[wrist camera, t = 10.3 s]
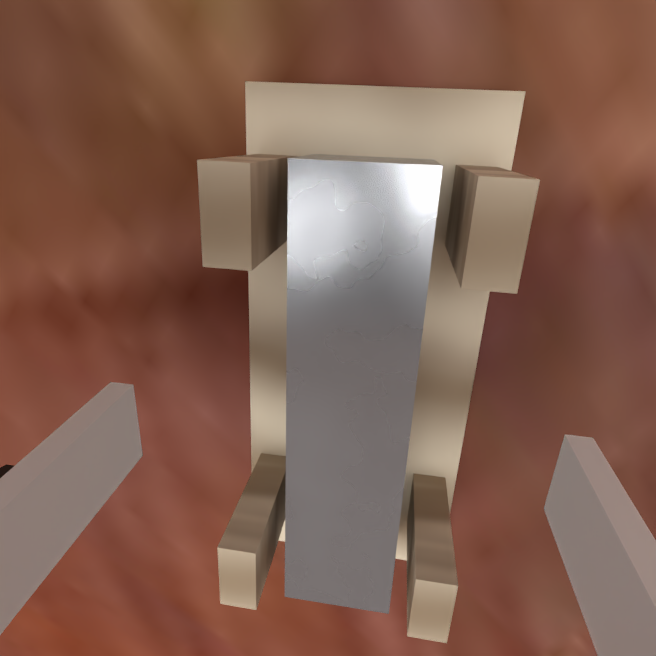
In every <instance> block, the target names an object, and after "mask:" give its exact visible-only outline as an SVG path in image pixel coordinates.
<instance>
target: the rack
mask: <svg viewBox="0 0 656 656" xmlns="http://www.w3.org/2000/svg"><path fill="white" fill-rule="evenodd" d="M524 97H525V91H499V90H471V89H444V88H416V87H389V86H361V85H333V84H306V83H278V82H251V81H245V100H246V155H241V156H231V157H221V158H210V159H200V160H197V168H198V187H199V206H200V225H201V244H202V263H203V267H211V268H223V269H234V270H246V271H248V282H249V343H250V403H251V464H252V474H251V476H250V478H249V480H248V482H247V485H246V487H245V489H244V491H243V493H242V495H241V498H240V500H239V502H238V504H237V506H236V509H235V511H234V513H233V515H232V517H231V519H230V522H229V524H228V526H227V528H226V530H225V532H224V535H223V537H222V539H221V541H220V543H219V545H218V567H219V586H220V604H225V605H231V606H237V607H242V608H248V609H254V610H256V609H257V606H258V603H259V600H260V597H261V594H262V591H263V587H264V584H265V581H266V578H267V575H268V572H269V568H270V565H271V562H272V559H273V556H274V553H275V550H276V546H277V543H278V540H280V541H285V495H286V354H287V214H288V158H292V157H299V156H305V155H311V154H326V155H347V156H369V157H391V158H412V159H434V160H436V161H437V162H438V163H440V164H441V165H443V168H442V176H441V185H440V193H439V201H438V209H437V218H436V226H435V234H434V242H433V251H432V259H431V267H430V276H429V284H428V292H427V300H426V309H425V317H424V325H423V334H422V342H421V350H420V358H419V367H418V375H417V383H416V391H415V400H414V408H413V416H412V425H411V433H410V441H409V449H408V458H407V466H406V474H405V482H404V491H403V499H402V507H401V516H400V524H399V532H398V540H397V549H396V557H395V558H396V559H402V560H407V636H409V637H415V638H420V639H426V640H432V641H438V642H443V643H447V639H448V634H449V629H450V624H451V619H452V614H453V609H454V604H455V599H456V594H457V589H458V581H457V572H456V564H455V555H454V547H453V538H452V530H451V521H450V510H451V505H452V499H453V494H454V488H455V483H456V477H457V471H458V466H459V460H460V455H461V449H462V443H463V438H464V432H465V427H466V421H467V415H468V410H469V404H470V399H471V393H472V388H473V382H474V376H475V371H476V365H477V360H478V354H479V348H480V343H481V337H482V332H483V326H484V320H485V315H486V309H487V304H488V298H489V293H490V291H491V292H503V293H514V294H517V291H518V286H519V281H520V276H521V271H522V266H523V262H524V257H525V252H526V247H527V242H528V237H529V232H530V227H531V222H532V217H533V212H534V207H535V202H536V197H537V192H538V187H539V182H540V179H537V178H533V177H530V176H527V175H523V174H520V173H517V172H513V171H511V170H512V164H513V158H514V153H515V147H516V142H517V136H518V131H519V125H520V119H521V114H522V108H523V103H524Z"/></svg>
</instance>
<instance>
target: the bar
mask: <svg viewBox="0 0 656 656" xmlns="http://www.w3.org/2000/svg"><path fill="white" fill-rule="evenodd" d="M442 168H443V165H441V164H440V163H438V162H437V161H436V160H434V159H412V158H391V157H369V156H347V155H326V154H311V155H305V156H299V157H292V158H288V214H287V354H286V495H285V597H290V598H296V599H302V600H308V601H314V602H321V603H327V604H333V605H339V606H345V607H351V608H357V609H363V610H369V611H375V612H382V613H388V614H389V607H390V598H391V590H392V582H393V574H394V565H395V557H396V549H397V540H398V532H399V524H400V516H401V507H402V499H403V491H404V482H405V474H406V466H407V458H408V449H409V441H410V433H411V425H412V416H413V408H414V400H415V391H416V383H417V375H418V367H419V358H420V350H421V342H422V334H423V325H424V317H425V309H426V300H427V292H428V284H429V276H430V267H431V259H432V251H433V242H434V234H435V226H436V218H437V209H438V201H439V193H440V185H441V176H442Z"/></svg>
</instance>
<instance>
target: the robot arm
mask: <svg viewBox="0 0 656 656" xmlns="http://www.w3.org/2000/svg"><path fill="white" fill-rule="evenodd" d="M142 456H143V454H142V446H141V439H140V431H139V424H138V416H137V409H136V401H135V394H134V386H133V385H132V384H123V383H115V382H110V383H109V384H108V385H107V386H106V387H104V388H103V389H102V390H101V391H100V392H99V393H98V394H96V395H95V396H94V397H93V398H92V399H91V400H90V401H88V402H87V403H86V404H85V405H84V406H83V407H82V408H80V409H79V410H78V411H77V412H76V413H75V414H74V415H72V416H71V417H70V418H69V419H68V420H67V421H66V422H64V423H63V424H62V425H61V426H60V427H59V428H57V429H56V430H55V431H54V432H53V433H52V434H51V435H49V436H48V437H47V438H46V439H45V440H44V441H43V442H41V443H40V444H39V445H38V446H37V447H36V448H35V449H33V450H32V451H31V452H30V453H29V454H28V455H27V456H25V457H24V458H23V459H22V460H21V461H20V462H19V463H17V464H16V465H15V466H13V465H5V466H3V467H1V468H0V635H1V633H2V632H3V631H4V629H5V628H6V627H7V626H8V624H9V623H10V622H11V621H12V619H13V618H14V617H15V616H16V614H17V613H18V612H19V611H20V609H21V608H22V607H23V606H24V604H25V603H26V602H27V600H28V599H29V598H30V597H31V595H32V594H33V593H34V592H35V590H36V589H37V588H38V587H39V585H40V584H41V583H42V582H43V580H44V579H45V578H46V577H47V575H48V574H49V573H50V572H51V570H52V569H53V568H54V566H55V565H56V564H57V563H58V561H59V560H60V559H61V558H62V556H63V555H64V554H65V553H66V551H67V550H68V549H69V548H70V546H71V545H72V544H73V543H74V541H75V540H76V539H77V537H78V536H79V535H80V534H81V532H82V531H83V530H84V529H85V527H86V526H87V525H88V524H89V522H90V521H91V520H92V519H93V517H94V516H95V515H96V514H97V512H98V511H99V510H100V509H101V507H102V506H103V505H104V503H105V502H106V501H107V500H108V498H109V497H110V496H111V495H112V493H113V492H114V491H115V490H116V488H117V487H118V486H119V485H120V483H121V482H122V481H123V480H124V478H125V477H126V476H127V474H128V473H129V472H130V471H131V469H132V468H133V467H134V466H135V464H136V463H137V462H138V461H139V459H140V458H141V457H142ZM544 511H545V513H546V516H547V519H548V522H549V524H550V527H551V530H552V532H553V535H554V538H555V541H556V543H557V546H558V549H559V552H560V554H561V557H562V560H563V562H564V565H565V568H566V571H567V573H568V576H569V579H570V581H571V584H572V587H573V590H574V592H575V595H576V598H577V601H578V603H579V606H580V609H581V611H582V614H583V617H584V620H585V622H586V625H587V628H588V630H589V633H590V636H591V639H592V641H593V644H594V647H595V650H596V652H597V655H598V656H656V540H655V539H654V537H653V535H652V534H651V532H650V530H649V529H648V527H647V526H646V524H645V522H644V521H643V519H642V517H641V516H640V514H639V512H638V511H637V509H636V508H635V506H634V504H633V503H632V501H631V499H630V498H629V496H628V494H627V493H626V491H625V489H624V488H623V486H622V485H621V483H620V481H619V480H618V478H617V476H616V475H615V473H614V471H613V470H612V468H611V466H610V465H609V463H608V462H607V460H606V458H605V457H604V455H603V453H602V452H601V450H600V448H599V447H598V445H597V444H596V442H595V440H594V439H593V438H591V437H582V436H574V435H565V436H564V439H563V443H562V446H561V450H560V453H559V457H558V460H557V464H556V467H555V471H554V474H553V478H552V481H551V485H550V489H549V492H548V496H547V499H546V503H545V506H544Z"/></svg>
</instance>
